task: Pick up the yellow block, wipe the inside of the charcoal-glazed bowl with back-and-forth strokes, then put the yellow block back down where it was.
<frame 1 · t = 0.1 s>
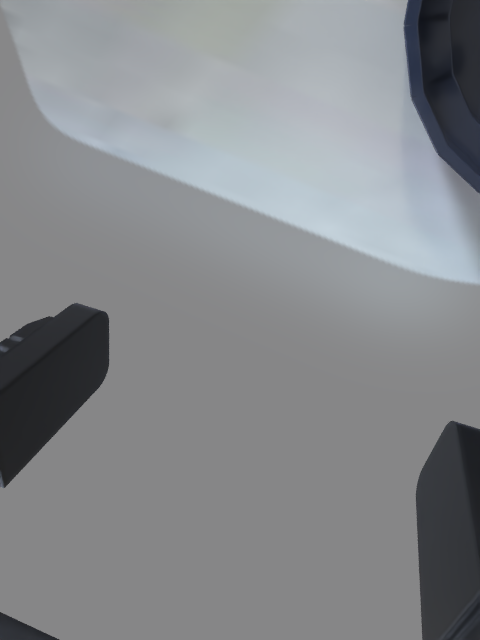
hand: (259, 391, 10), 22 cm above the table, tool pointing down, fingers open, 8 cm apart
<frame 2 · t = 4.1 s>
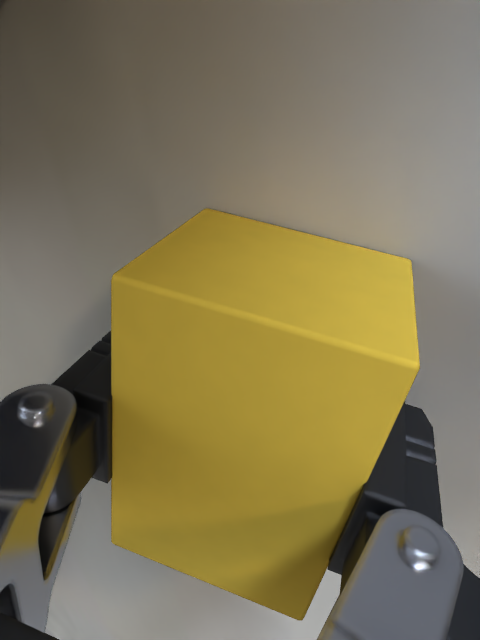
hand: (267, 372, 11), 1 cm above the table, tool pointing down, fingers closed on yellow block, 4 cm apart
yellow block: (273, 360, 11), on the table, touching gripper
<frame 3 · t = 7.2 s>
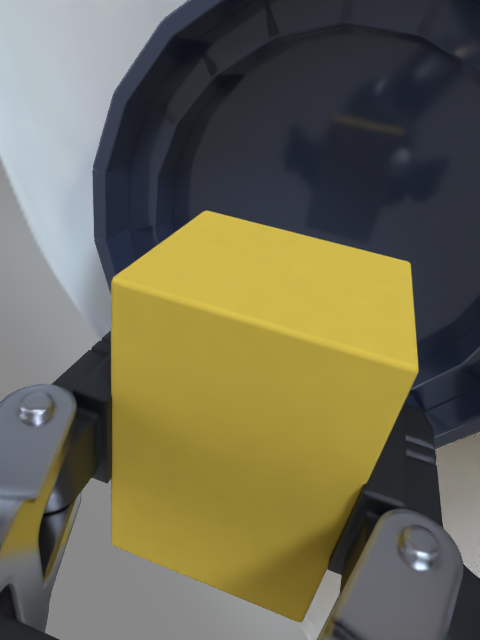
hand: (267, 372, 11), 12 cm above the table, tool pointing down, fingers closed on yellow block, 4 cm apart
yellow block: (273, 361, 11), point 11 cm above the table, touching gripper
bowl: (331, 229, 21), on the table
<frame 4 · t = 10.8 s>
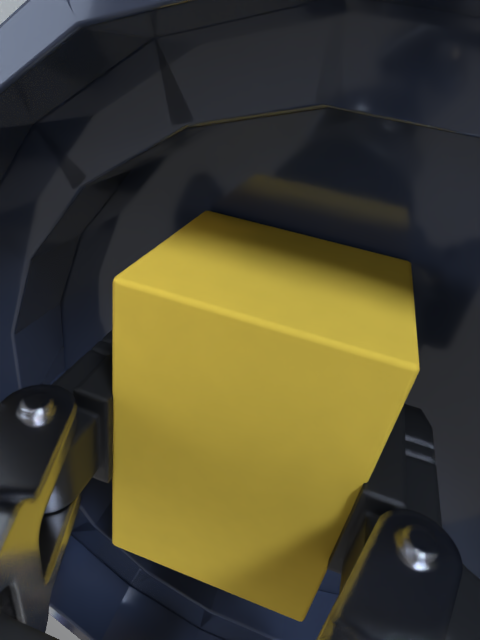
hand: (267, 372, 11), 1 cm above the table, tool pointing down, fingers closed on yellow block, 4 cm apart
yellow block: (273, 361, 11), point 1 cm above the table, touching gripper
bowl: (313, 404, 13), on the table
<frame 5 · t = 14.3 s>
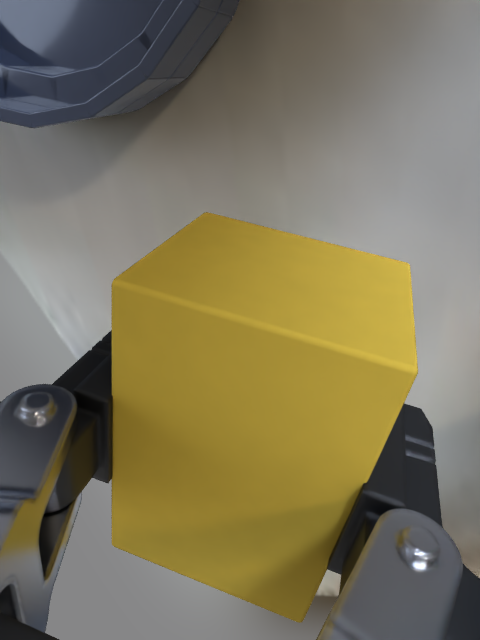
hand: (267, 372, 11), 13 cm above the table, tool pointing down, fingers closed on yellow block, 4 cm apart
yellow block: (273, 362, 11), point 12 cm above the table, touching gripper
when the fingers open (0 cm above the table, at t = 17.5 s): yellow block stays where it is, on the table.
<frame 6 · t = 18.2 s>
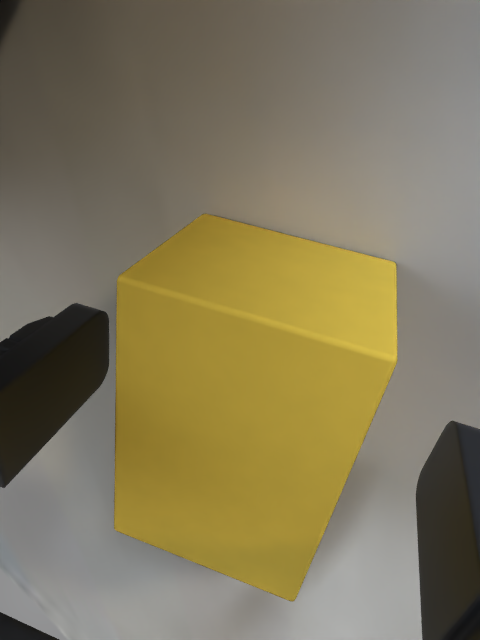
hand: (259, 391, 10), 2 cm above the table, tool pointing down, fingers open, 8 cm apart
yellow block: (268, 357, 12), on the table
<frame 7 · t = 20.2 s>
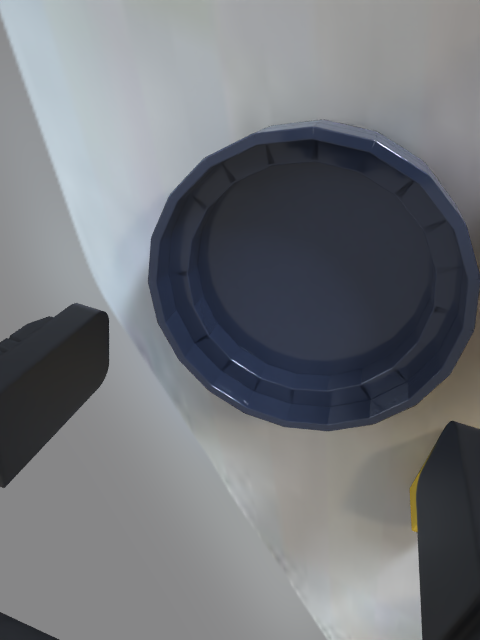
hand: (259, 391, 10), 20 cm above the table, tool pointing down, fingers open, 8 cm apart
yellow block: (456, 469, 34), on the table
bowl: (308, 275, 30), on the table
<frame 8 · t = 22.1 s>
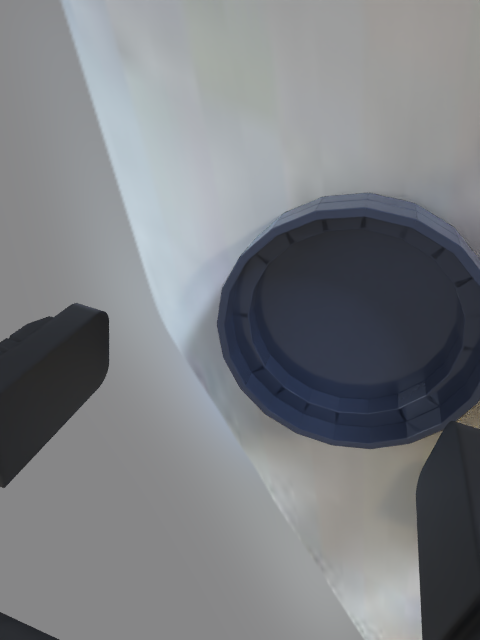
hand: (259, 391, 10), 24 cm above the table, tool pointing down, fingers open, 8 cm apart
bowl: (351, 315, 35), on the table
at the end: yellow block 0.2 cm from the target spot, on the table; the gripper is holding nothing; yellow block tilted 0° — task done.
